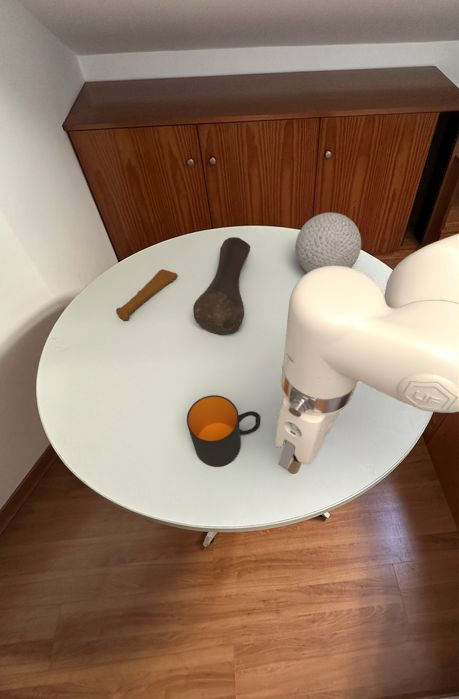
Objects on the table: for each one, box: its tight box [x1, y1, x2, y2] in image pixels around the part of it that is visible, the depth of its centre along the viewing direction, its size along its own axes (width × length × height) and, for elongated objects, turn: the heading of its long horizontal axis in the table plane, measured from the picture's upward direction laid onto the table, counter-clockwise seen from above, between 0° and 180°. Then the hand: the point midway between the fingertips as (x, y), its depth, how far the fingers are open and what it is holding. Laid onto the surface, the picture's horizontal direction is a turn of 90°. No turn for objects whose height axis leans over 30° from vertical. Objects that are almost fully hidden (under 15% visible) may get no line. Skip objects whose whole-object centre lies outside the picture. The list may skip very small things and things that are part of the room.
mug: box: [186, 394, 261, 468], centre depth 62 cm, size 8×12×10 cm
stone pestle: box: [192, 236, 251, 335], centre depth 87 cm, size 11×10×28 cm
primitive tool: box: [115, 268, 179, 322], centre depth 90 cm, size 19×6×4 cm, turn 152°
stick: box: [286, 460, 302, 475], centre depth 54 cm, size 2×2×14 cm
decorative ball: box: [295, 212, 362, 273], centre depth 87 cm, size 15×15×15 cm
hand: (300, 448), depth 52 cm, fingers closed on stick, 2 cm apart
